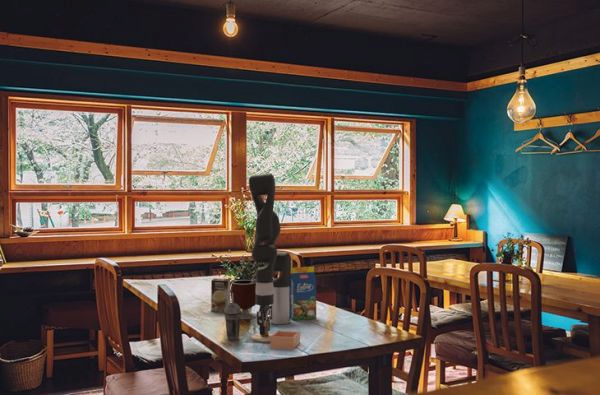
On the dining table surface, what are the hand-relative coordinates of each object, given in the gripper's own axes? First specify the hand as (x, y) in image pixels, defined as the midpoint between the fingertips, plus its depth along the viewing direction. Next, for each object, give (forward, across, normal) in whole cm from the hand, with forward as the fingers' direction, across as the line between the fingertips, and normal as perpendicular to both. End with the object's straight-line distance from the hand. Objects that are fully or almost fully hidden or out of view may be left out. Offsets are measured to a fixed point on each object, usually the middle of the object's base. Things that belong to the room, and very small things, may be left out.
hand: (264, 332), depth 248 cm
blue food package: (+3, -44, +5) cm, 44 cm away
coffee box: (+3, -52, -41) cm, 66 cm away
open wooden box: (+3, +7, +11) cm, 13 cm away
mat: (+3, 0, 0) cm, 3 cm away
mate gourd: (+3, -41, -23) cm, 47 cm away
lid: (+3, 0, 0) cm, 3 cm away
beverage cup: (+3, +3, -13) cm, 14 cm away
